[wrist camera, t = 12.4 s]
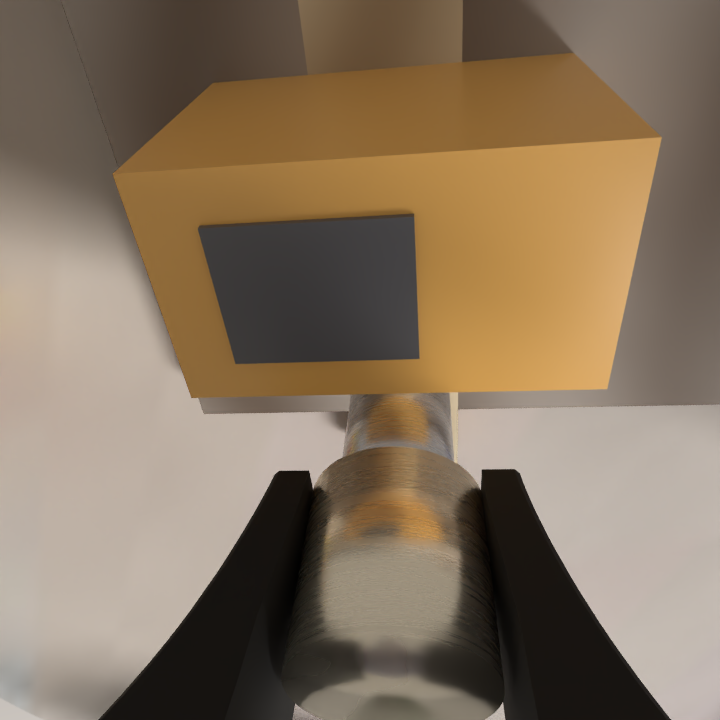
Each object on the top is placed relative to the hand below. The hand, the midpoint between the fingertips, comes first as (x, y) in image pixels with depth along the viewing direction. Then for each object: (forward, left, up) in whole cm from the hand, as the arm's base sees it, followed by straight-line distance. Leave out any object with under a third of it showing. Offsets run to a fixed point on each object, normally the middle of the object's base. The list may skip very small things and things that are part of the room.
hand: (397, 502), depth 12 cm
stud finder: (0, -5, -5) cm, 7 cm away
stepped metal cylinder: (0, 0, -3) cm, 3 cm away
